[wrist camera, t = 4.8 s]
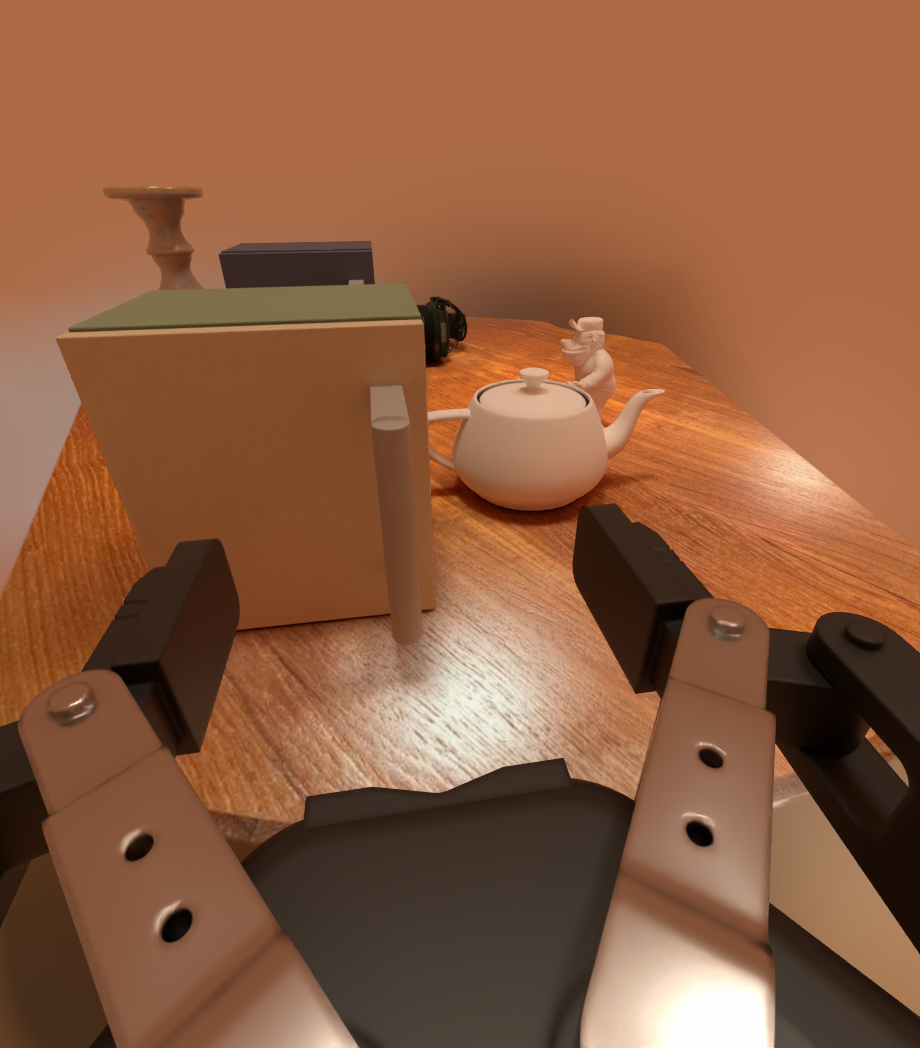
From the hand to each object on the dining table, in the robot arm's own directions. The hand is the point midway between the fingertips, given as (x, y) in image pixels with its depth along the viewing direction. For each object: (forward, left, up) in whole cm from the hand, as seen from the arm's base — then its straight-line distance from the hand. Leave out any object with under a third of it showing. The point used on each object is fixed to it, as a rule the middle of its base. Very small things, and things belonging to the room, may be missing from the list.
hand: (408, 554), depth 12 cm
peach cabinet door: (-6, +14, -16) cm, 22 cm away
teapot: (+13, +32, -16) cm, 38 cm away
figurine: (+22, +45, -16) cm, 52 cm away
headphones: (+7, +82, -16) cm, 84 cm away
